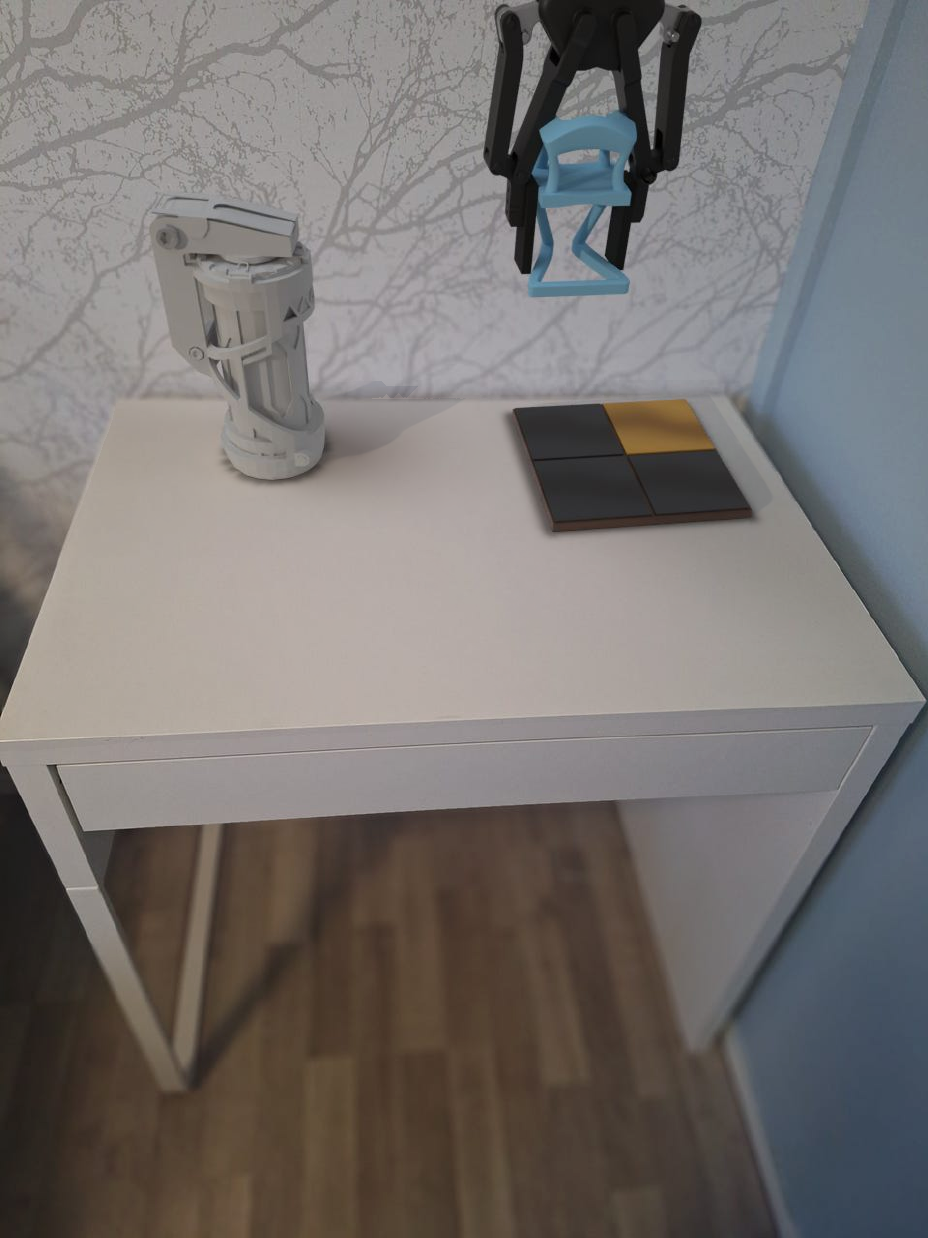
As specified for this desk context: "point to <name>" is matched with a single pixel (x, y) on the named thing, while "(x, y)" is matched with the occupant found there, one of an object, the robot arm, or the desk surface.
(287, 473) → the grey tall piece
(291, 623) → the desk surface
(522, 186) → the robot arm
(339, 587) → the desk surface
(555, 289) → the chair
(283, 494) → the desk surface
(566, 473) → the board
